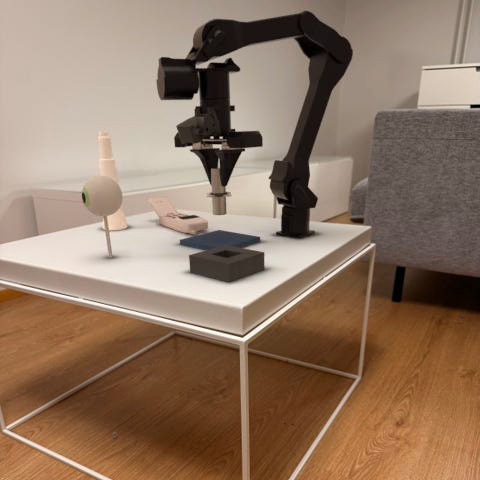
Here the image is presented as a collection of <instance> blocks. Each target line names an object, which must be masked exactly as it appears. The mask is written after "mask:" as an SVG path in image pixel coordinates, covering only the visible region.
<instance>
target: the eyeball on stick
mask: <svg viewBox="0 0 480 480" xmlns="http://www.w3.org/2000/svg"><path fill="white" fill-rule="evenodd" d="M81 200H82V202H83V203H82V204H83V205H84V207H85V208H86V209H87V211H89V213H91V214H92V215H96V216H98V217H102V219H103V218H104V226H105V230H104V233H105V239H106V246H107V254H108V258H110V259H111V258H113V250H112V243H111V237H110V230H109V227H108V220H107V216H109V215H112V214H114V213H115V212H116V211H117V210H118V209H119V208H120V206H121V204H122V205H123V191H122V189H121V187H120V184H119V185H118V184H117V183H116V182H115V181H114V180H112V179H111V178H109V177H106V176H100V175H96V176H93V177H91V178H89V179H87V181H86V182H85V183H84V185H83V187H82V190H81Z"/></svg>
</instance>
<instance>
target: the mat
mask: <svg viewBox="0 0 480 480" xmlns="http://www.w3.org/2000/svg"><path fill="white" fill-rule="evenodd" d="M260 242H261V236H257V235H251V234H245V233H240V232H233V231H229V230H222V229H218V230H217V229H216V230H214V231H209V232H205V233H202V234H197V235H193V236H189V237H185V238H181V239H179V245H181V246H186V247H191V248H195V249H200V250H203V251H206V250H209V249H213V248H216V247H220V246H223V245H229V246H234V247H239V248H244V247H247V246H250V245H253V244H256V243H260Z"/></svg>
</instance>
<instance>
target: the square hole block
mask: <svg viewBox="0 0 480 480" xmlns="http://www.w3.org/2000/svg"><path fill="white" fill-rule="evenodd" d="M188 263H189V273H191V274H196V275H199V276H204V277H206V278H211V279H215V280H218V281H221V282H222V281H223V282H226V283H231V282H234V281H237V280H239V279H242V278H244V277H247V276H251V275H253V274H255V273H259V272H260V271H264V270H265V252H264V251H259V250H254V249H248V248H244V247H240V248H239V247H234V246H229V245H223V246H220V247H216V248H213V249H209V250H203V251H199V252H194V253H191V254H189V255H188Z"/></svg>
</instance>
